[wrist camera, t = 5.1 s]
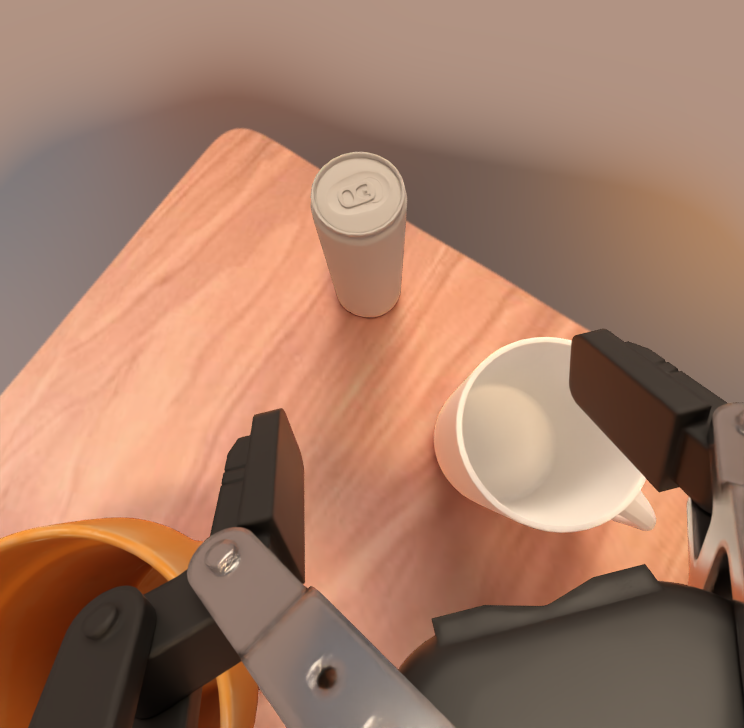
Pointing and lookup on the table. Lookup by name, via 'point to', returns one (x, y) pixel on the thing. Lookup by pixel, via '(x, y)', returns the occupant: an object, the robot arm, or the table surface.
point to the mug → (535, 445)
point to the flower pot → (75, 590)
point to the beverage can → (362, 230)
